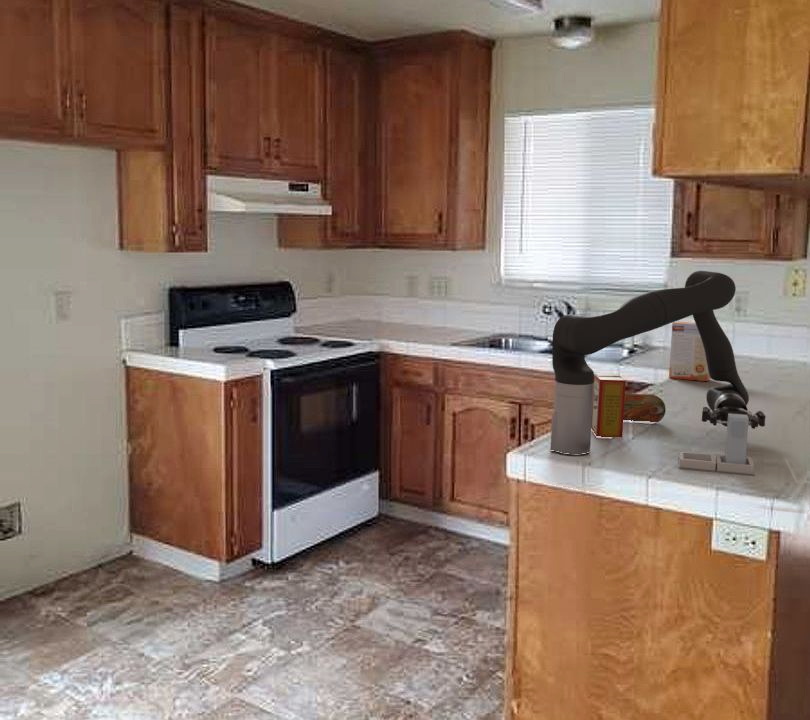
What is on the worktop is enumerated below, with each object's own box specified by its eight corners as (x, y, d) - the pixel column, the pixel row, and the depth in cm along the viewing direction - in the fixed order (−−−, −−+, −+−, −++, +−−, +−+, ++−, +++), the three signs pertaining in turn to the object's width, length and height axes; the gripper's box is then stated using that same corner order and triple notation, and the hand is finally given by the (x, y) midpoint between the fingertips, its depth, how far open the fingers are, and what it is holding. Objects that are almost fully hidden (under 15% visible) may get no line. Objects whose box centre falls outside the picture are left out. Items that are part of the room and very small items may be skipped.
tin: (609, 422, 246) (611, 393, 245) (608, 420, 249) (610, 391, 248) (664, 425, 244) (666, 395, 242) (663, 423, 247) (665, 393, 245)
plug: (725, 470, 194) (729, 417, 192) (724, 464, 198) (728, 413, 197) (744, 471, 193) (749, 419, 191) (742, 466, 197) (747, 414, 196)
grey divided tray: (678, 474, 194) (679, 461, 194) (677, 461, 205) (678, 449, 204) (754, 481, 190) (755, 468, 189) (750, 468, 200) (751, 456, 200)
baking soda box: (622, 439, 225) (625, 379, 223) (596, 438, 226) (600, 378, 223) (615, 431, 235) (619, 372, 232) (591, 430, 235) (594, 372, 233)
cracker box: (710, 380, 321) (715, 323, 318) (707, 382, 316) (711, 325, 313) (672, 376, 328) (676, 320, 325) (668, 378, 323) (672, 322, 320)
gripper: (701, 392, 221) (703, 404, 205) (762, 397, 216) (768, 409, 201) (699, 421, 222) (701, 435, 206) (759, 426, 218) (765, 441, 202)
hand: (734, 422), depth 204 cm, fingers open, 8 cm apart
